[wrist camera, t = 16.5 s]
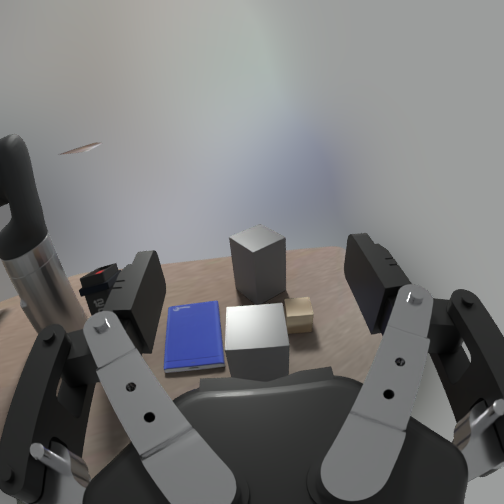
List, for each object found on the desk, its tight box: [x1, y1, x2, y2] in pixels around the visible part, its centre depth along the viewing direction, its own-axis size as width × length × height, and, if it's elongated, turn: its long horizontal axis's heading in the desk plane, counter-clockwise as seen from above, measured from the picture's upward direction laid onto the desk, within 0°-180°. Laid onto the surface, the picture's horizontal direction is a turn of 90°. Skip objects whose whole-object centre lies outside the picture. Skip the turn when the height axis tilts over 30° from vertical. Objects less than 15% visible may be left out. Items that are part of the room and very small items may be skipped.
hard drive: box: [164, 301, 225, 373], centre depth 41 cm, size 2×8×12 cm
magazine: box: [79, 263, 142, 356], centre depth 36 cm, size 4×13×15 cm, turn 22°
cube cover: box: [225, 303, 289, 382], centre depth 31 cm, size 6×6×10 cm
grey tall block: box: [229, 224, 286, 305], centre depth 46 cm, size 6×6×10 cm
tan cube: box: [284, 297, 313, 334], centre depth 41 cm, size 4×4×4 cm
